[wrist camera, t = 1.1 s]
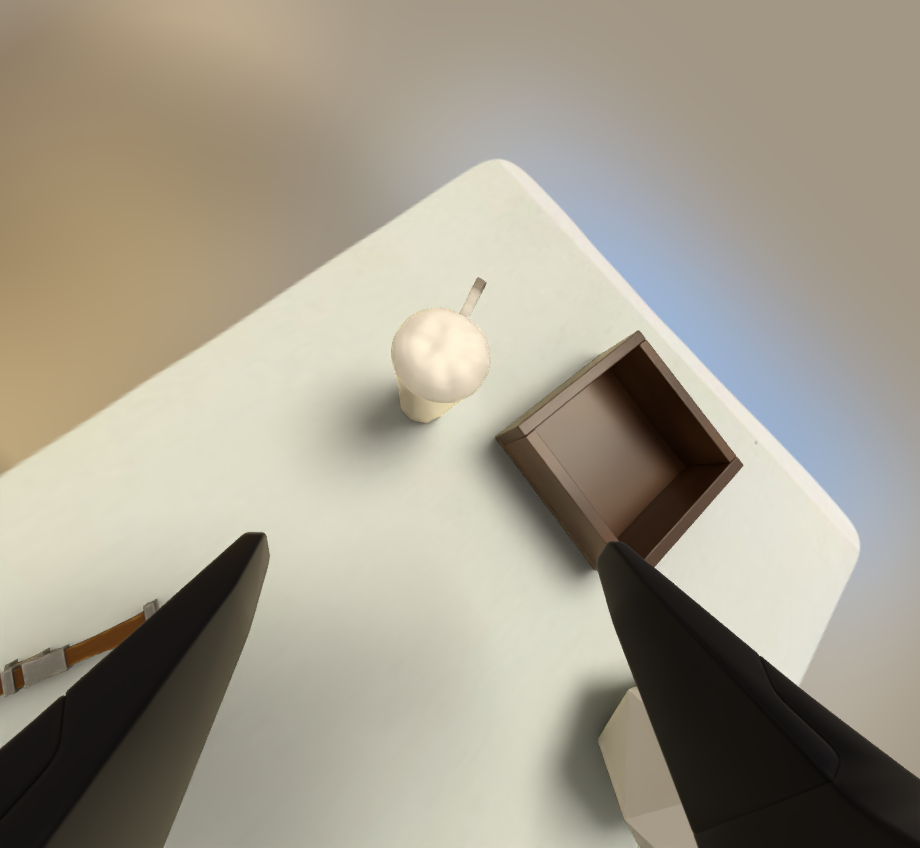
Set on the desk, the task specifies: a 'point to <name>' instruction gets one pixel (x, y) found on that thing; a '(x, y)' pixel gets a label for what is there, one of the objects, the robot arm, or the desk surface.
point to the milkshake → (439, 359)
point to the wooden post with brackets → (68, 654)
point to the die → (643, 778)
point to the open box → (622, 453)
